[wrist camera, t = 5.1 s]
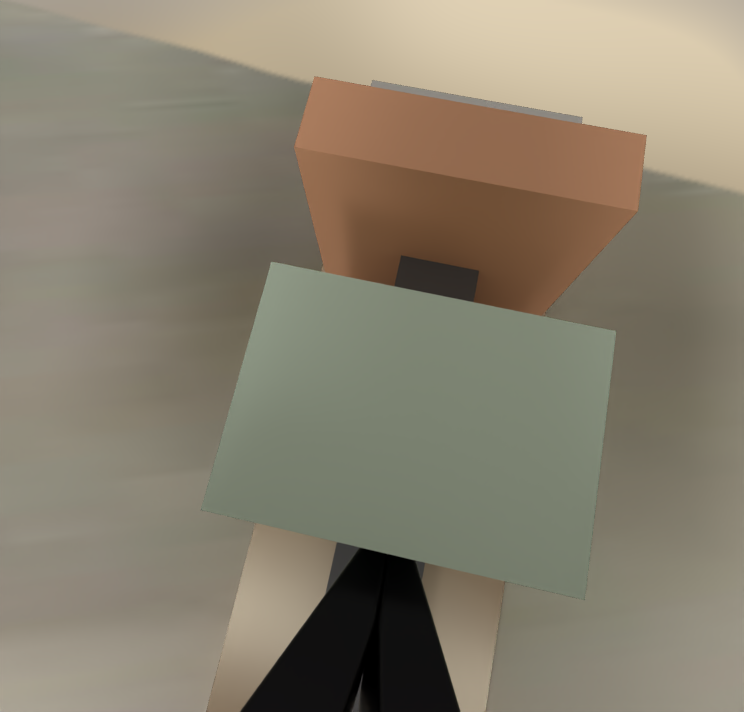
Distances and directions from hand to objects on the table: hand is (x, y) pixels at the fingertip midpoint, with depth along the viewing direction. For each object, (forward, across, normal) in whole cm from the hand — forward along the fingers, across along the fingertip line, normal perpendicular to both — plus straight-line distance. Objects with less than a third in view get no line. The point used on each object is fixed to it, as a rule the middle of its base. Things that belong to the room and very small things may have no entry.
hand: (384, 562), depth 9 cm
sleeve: (+6, 0, +3) cm, 6 cm away
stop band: (+10, 0, -1) cm, 10 cm away
